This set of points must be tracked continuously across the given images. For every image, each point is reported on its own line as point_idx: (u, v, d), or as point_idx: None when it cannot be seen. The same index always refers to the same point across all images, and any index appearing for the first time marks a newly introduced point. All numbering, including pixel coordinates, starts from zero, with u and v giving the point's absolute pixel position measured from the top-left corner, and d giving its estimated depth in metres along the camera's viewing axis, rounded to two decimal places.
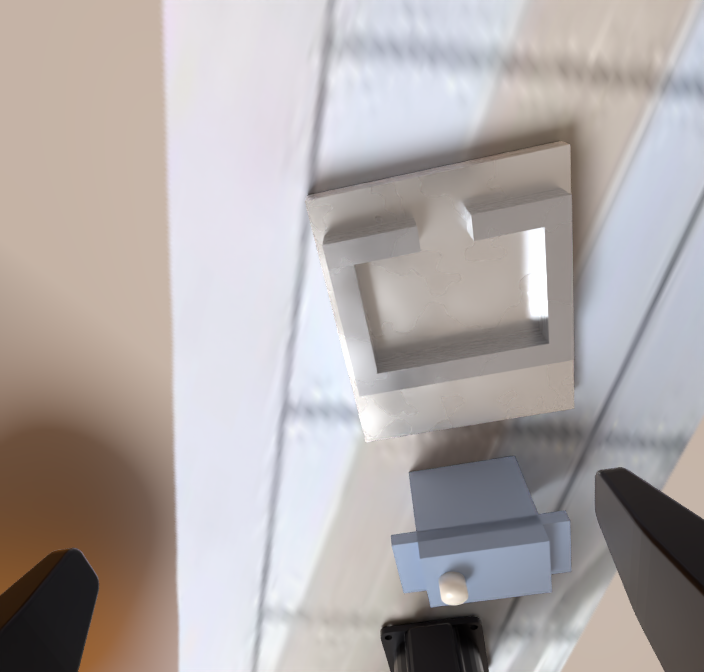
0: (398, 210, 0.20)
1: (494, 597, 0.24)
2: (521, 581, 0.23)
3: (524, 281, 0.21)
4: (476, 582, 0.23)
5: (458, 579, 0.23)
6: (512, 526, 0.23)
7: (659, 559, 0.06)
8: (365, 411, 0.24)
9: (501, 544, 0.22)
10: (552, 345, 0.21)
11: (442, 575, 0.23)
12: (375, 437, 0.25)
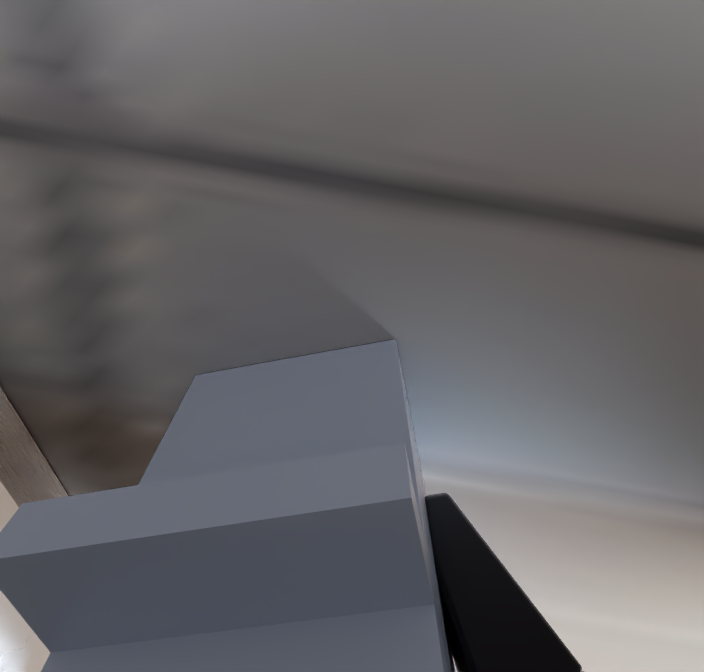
0: None
1: None
2: None
3: None
4: None
5: None
6: None
7: (440, 587, 0.07)
8: None
9: None
10: None
11: None
12: None
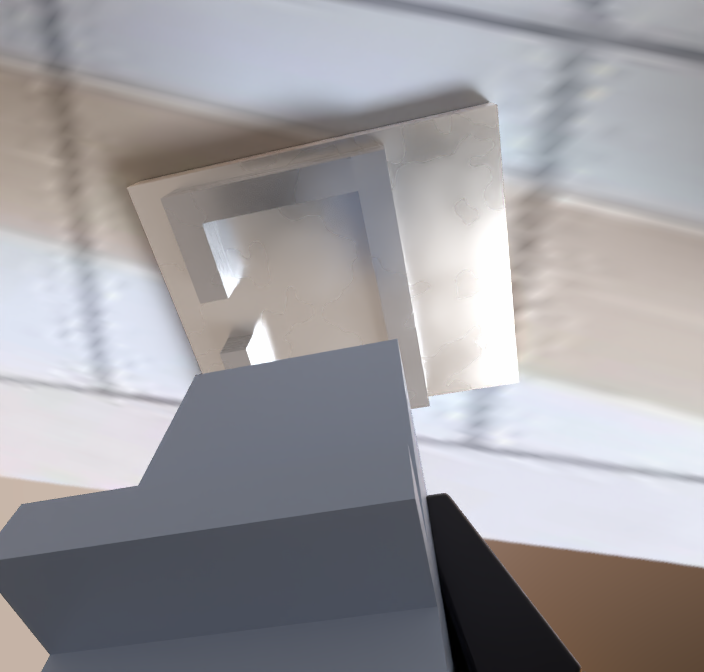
0: None
1: None
2: None
3: (290, 214, 0.17)
4: None
5: None
6: None
7: None
8: (469, 382, 0.20)
9: None
10: (361, 185, 0.15)
11: None
12: (512, 372, 0.20)
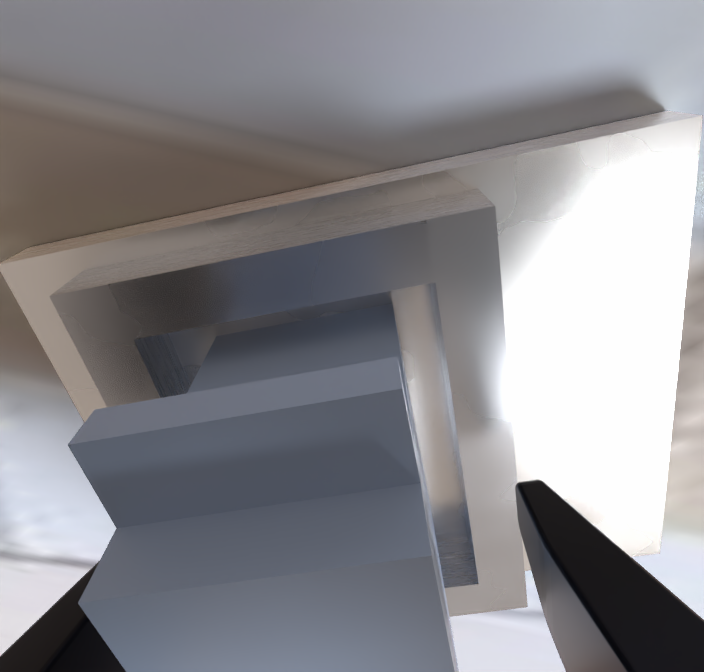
0: None
1: None
2: (351, 654, 0.05)
3: (299, 309, 0.10)
4: None
5: None
6: None
7: (556, 572, 0.07)
8: None
9: None
10: (442, 272, 0.08)
11: None
12: (652, 539, 0.12)
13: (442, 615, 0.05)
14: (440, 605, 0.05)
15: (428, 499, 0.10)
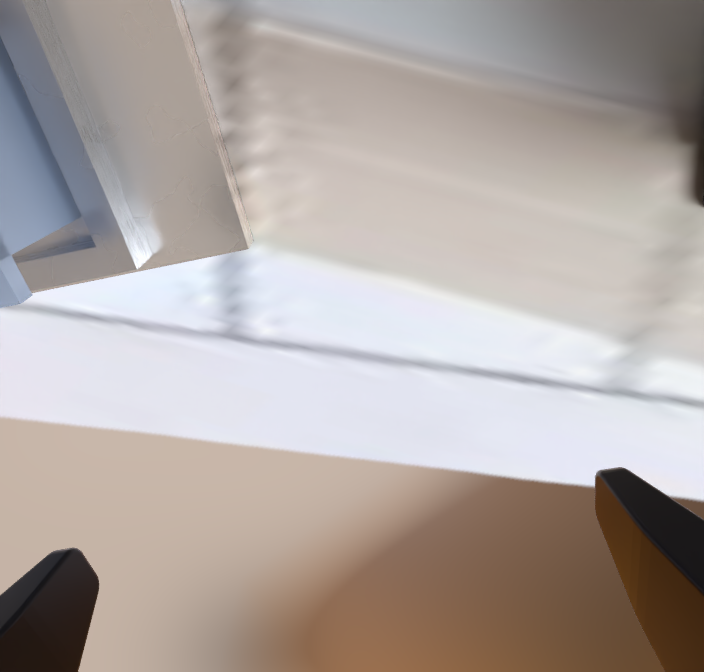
0: None
1: None
2: None
3: None
4: None
5: None
6: None
7: (659, 559, 0.06)
8: (195, 250, 0.18)
9: None
10: None
11: None
12: (238, 235, 0.18)
13: None
14: None
15: (41, 172, 0.16)
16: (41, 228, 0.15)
